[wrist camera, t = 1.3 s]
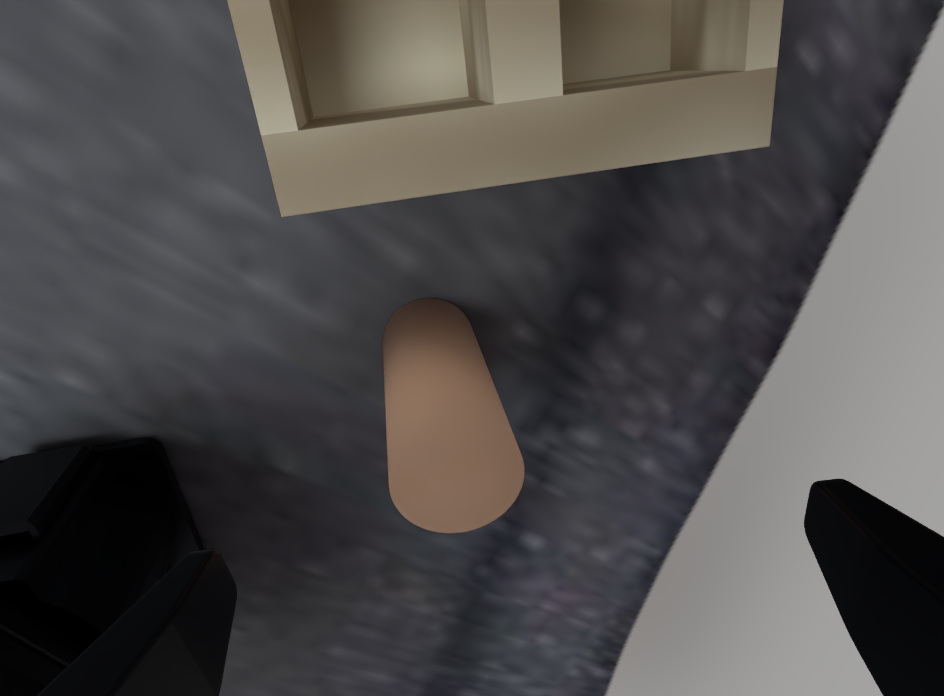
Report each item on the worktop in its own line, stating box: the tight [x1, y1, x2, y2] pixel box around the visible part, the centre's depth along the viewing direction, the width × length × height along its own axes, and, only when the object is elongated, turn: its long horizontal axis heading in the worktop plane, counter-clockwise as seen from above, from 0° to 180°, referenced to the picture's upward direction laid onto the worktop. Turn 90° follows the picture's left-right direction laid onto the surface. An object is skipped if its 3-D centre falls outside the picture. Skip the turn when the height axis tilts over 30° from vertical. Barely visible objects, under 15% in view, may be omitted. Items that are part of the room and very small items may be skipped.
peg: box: [383, 298, 524, 533], centre depth 18 cm, size 3×3×8 cm
